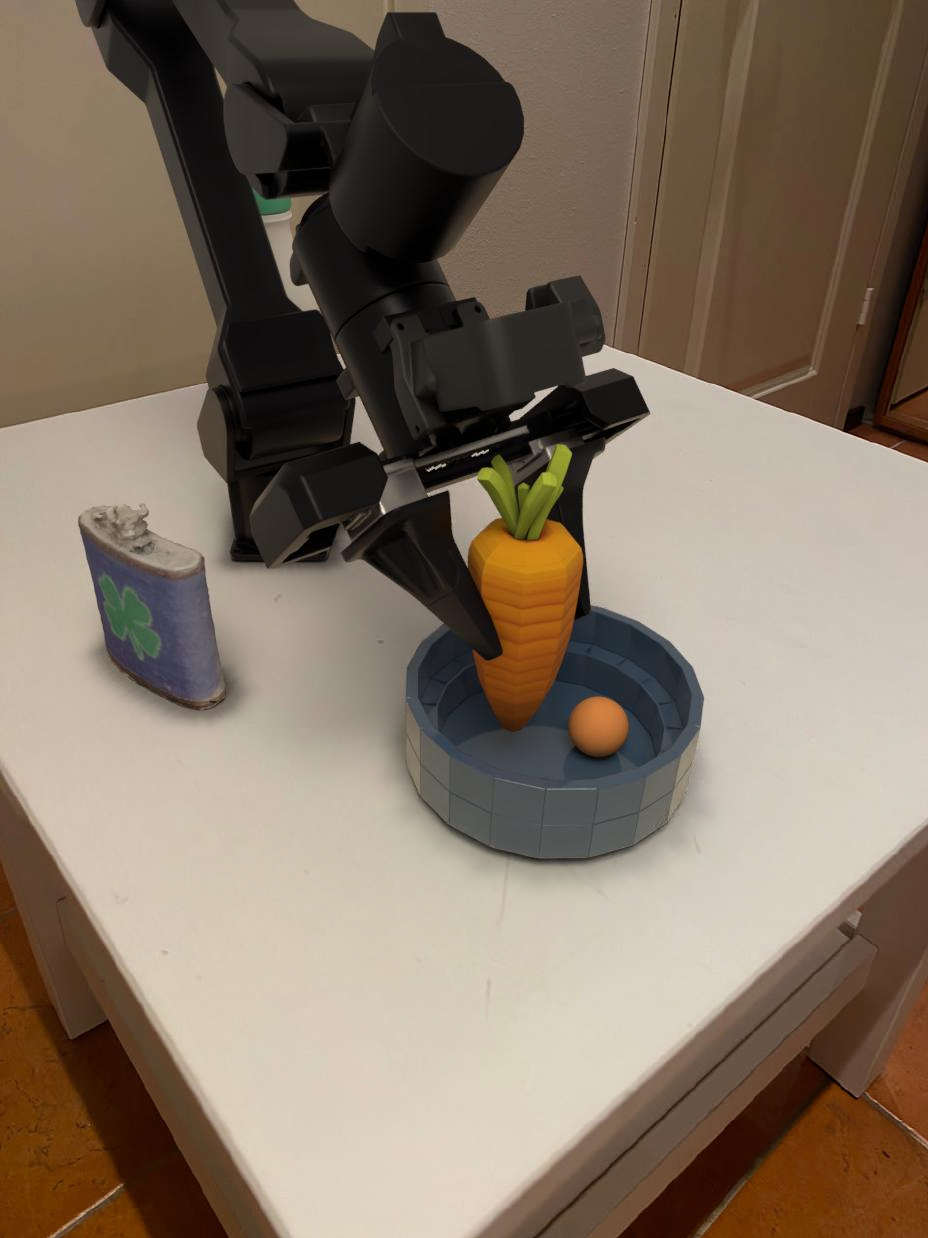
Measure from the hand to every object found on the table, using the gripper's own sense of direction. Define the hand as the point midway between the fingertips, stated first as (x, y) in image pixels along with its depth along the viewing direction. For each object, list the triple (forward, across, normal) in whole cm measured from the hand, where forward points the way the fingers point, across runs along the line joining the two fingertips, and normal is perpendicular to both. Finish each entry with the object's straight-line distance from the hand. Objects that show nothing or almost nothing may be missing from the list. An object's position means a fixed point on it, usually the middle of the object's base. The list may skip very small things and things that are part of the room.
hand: (539, 637), depth 41 cm
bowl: (+6, +2, +7) cm, 9 cm away
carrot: (+4, 0, +6) cm, 7 cm away
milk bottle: (-22, +9, +36) cm, 43 cm away
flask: (-7, -11, +20) cm, 24 cm away
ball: (+5, +4, +4) cm, 8 cm away
